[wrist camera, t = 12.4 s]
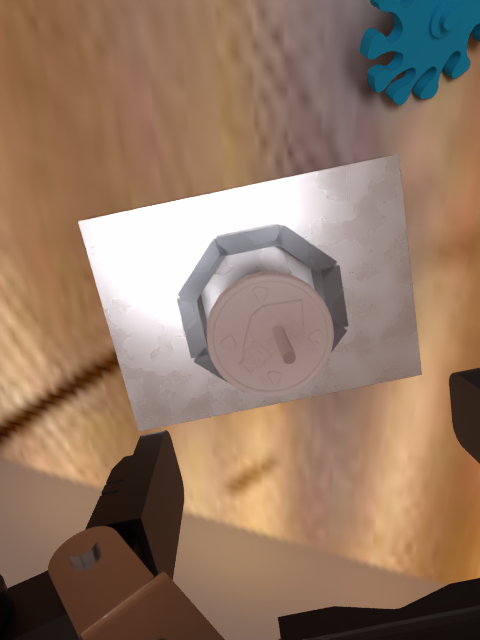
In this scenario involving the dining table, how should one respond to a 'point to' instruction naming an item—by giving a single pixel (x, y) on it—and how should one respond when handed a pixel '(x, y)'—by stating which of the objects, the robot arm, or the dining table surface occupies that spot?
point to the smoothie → (269, 334)
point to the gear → (421, 45)
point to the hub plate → (248, 258)
